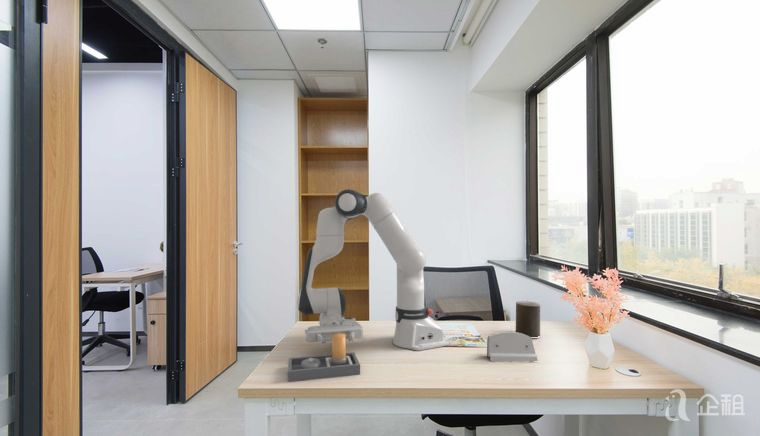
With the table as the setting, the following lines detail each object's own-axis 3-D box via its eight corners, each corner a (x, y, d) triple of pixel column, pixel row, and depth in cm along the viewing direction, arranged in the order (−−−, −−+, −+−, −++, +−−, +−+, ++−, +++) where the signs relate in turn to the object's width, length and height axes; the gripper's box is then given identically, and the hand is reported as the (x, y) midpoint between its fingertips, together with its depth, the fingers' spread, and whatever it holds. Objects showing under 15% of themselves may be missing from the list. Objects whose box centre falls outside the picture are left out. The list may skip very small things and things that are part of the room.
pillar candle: (525, 339, 142) (525, 303, 142) (510, 332, 151) (511, 298, 152) (545, 338, 144) (545, 302, 144) (530, 331, 154) (530, 297, 154)
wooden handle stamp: (345, 362, 116) (345, 332, 116) (347, 368, 111) (347, 337, 111) (330, 363, 114) (330, 333, 115) (332, 369, 110) (332, 338, 110)
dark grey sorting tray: (354, 360, 119) (354, 348, 120) (360, 374, 109) (360, 361, 109) (288, 367, 114) (288, 354, 114) (287, 381, 103) (288, 367, 104)
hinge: (489, 361, 119) (487, 331, 123) (486, 360, 124) (483, 331, 127) (539, 362, 119) (534, 331, 122) (533, 361, 123) (529, 332, 127)
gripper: (304, 321, 128) (306, 332, 115) (358, 317, 133) (366, 328, 120) (304, 338, 128) (306, 351, 115) (358, 334, 133) (366, 346, 120)
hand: (337, 339), depth 117 cm, fingers open, 8 cm apart
